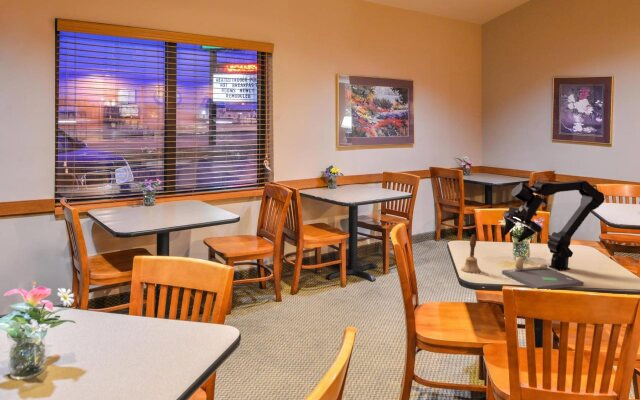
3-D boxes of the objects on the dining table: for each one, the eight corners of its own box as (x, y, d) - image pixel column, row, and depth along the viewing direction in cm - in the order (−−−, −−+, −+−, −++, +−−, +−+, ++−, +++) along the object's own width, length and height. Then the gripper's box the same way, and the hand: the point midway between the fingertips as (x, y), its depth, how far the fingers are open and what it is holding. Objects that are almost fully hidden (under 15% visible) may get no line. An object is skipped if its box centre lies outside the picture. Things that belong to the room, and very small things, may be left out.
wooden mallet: (542, 266, 223) (543, 254, 223) (548, 268, 220) (549, 256, 219) (511, 269, 219) (512, 257, 218) (516, 271, 215) (517, 259, 214)
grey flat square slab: (544, 269, 224) (544, 266, 224) (583, 285, 204) (583, 281, 203) (501, 273, 218) (502, 270, 218) (537, 290, 197) (537, 286, 197)
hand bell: (477, 267, 227) (479, 232, 224) (483, 273, 219) (485, 237, 216) (458, 267, 227) (460, 232, 224) (464, 273, 218) (466, 236, 216)
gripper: (504, 193, 225) (485, 223, 225) (534, 204, 208) (513, 237, 208) (520, 205, 229) (501, 234, 230) (550, 217, 212) (530, 248, 213)
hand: (511, 238), depth 220 cm, fingers open, 9 cm apart
